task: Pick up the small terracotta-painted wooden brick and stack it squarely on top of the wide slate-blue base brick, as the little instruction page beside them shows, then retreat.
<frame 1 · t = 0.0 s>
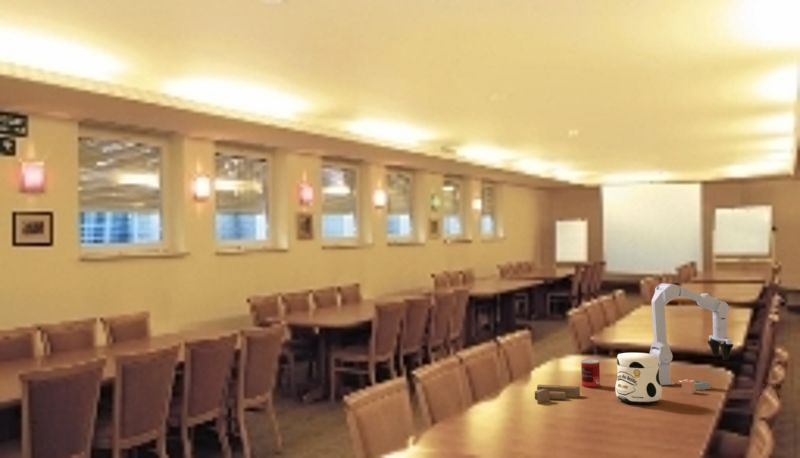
hand: (720, 358, 313), 10 cm above the table, tool pointing down, fingers open, 7 cm apart
base brick: (697, 389, 299), on the table
wooden block set: (557, 401, 282), on the table
instruction page: (691, 383, 309), on the table
canned food: (590, 386, 307), on the table
top brick: (688, 392, 291), on the table
milk container: (638, 402, 277), on the table
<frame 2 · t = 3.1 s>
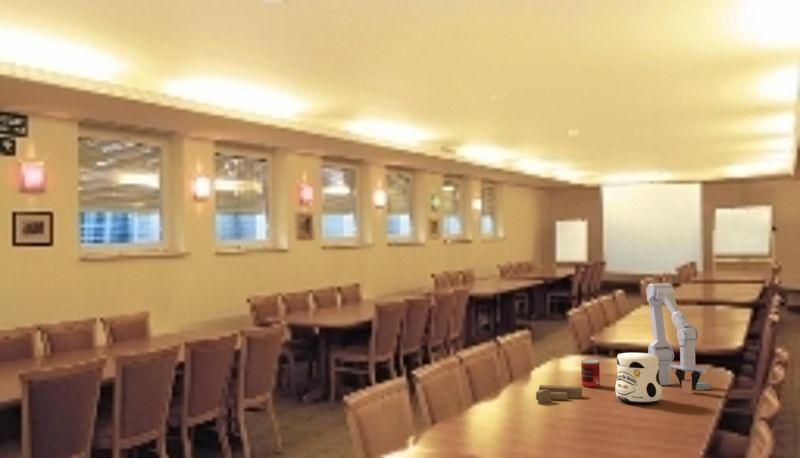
hand: (688, 389, 291), 1 cm above the table, tool pointing down, fingers closed on top brick, 4 cm apart
top brick: (688, 392, 291), on the table, touching gripper
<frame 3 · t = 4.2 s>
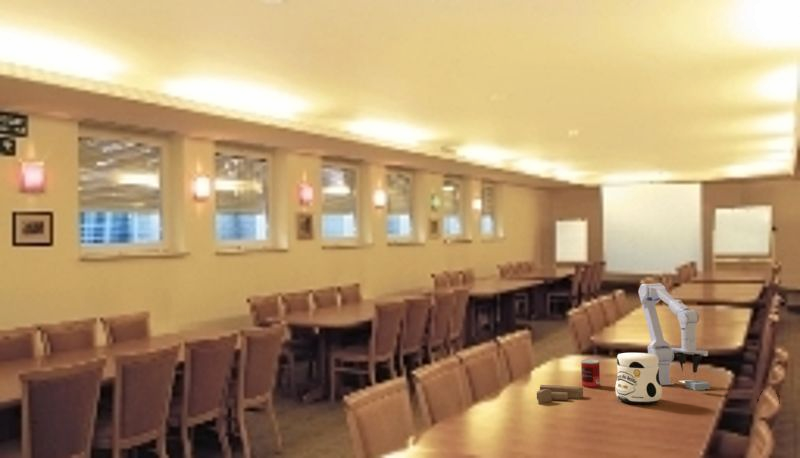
hand: (689, 371, 292), 8 cm above the table, tool pointing down, fingers closed on top brick, 4 cm apart
top brick: (689, 375, 292), point 7 cm above the table, touching gripper
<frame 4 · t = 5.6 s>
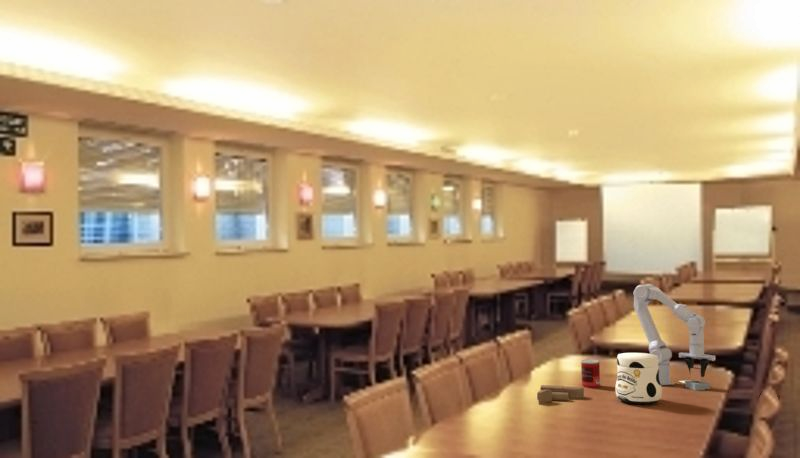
hand: (697, 375, 299), 5 cm above the table, tool pointing down, fingers closed on top brick, 4 cm apart
top brick: (697, 380, 299), point 3 cm above the table, touching gripper
when the fingers open (5 cm above the table, at t = 5.8 s): top brick stays where it is, point 3 cm above the table.
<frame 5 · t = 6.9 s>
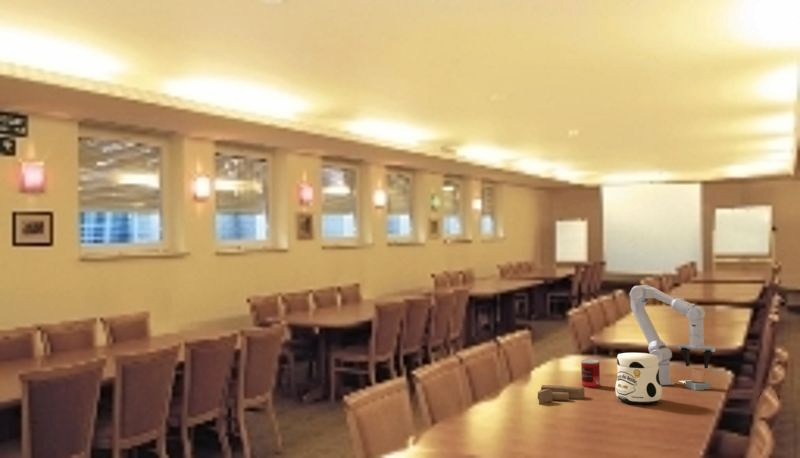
hand: (696, 367, 299), 9 cm above the table, tool pointing down, fingers open, 7 cm apart
top brick: (697, 381, 299), point 3 cm above the table
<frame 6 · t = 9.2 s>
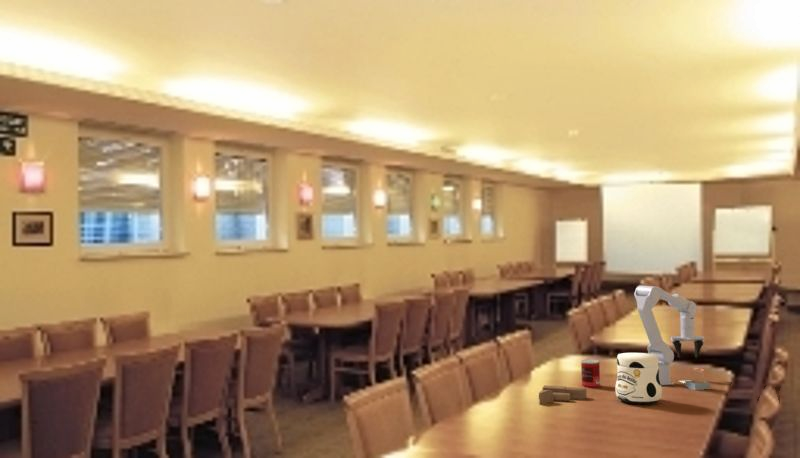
hand: (688, 357, 318), 10 cm above the table, tool pointing down, fingers open, 7 cm apart
top brick: (697, 380, 299), point 3 cm above the table, tilted 10°
at the end: top brick 0.1 cm off-centre on the base brick, point 3.4 cm above the base brick's base; top brick tilted 8°; the gripper is holding nothing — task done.
